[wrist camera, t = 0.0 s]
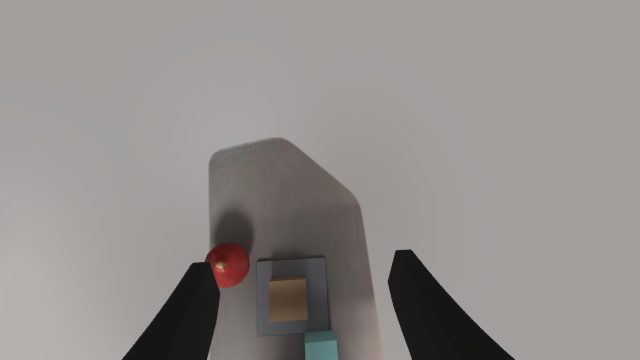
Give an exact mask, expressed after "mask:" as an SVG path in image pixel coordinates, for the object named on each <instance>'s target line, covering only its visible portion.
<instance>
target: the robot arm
mask: <svg viewBox="0 0 640 360" xmlns="http://www.w3.org/2000/svg"><path fill="white" fill-rule="evenodd" d="M388 285H389V289H390V294H391V298H392V302H393V306H394V309H395V312H396V315H397V318H398V321H399V324H400V327H401V330H402V332H403V335H404V338H405V341H406V344H407V346H408V349H409V352H410V355H411V357H412V360H515V359H514V358H513V357H511V356H510V355H509V354H508V353H507V352H506V351H505V350H504V349H502V348H501V347H500V346H499V345H498V344H497V343H496V342H495V341H494V340H493V339H492V338H491V337H490V336H488V335H487V334H486V333H485V332H484V331H483V330H482V329H481V328H480V327H479V326H478V325H477V324H476V323H475V322H474V321H473V320H472V319H471V318H470V317H469V316H468V315H467V314H466V313H465V311H463V309H462V308H461V307H460V306H459V305H458V304H457V303H456V302H455V301H454V300H453V298H452V297H451V296H450V295H449V294H448V293H447V292H446V291H445V290H444V288H443V287H442V286H441V285H440V284H439V283H438V282H437V280H436V279H435V278H434V277H433V276H432V274H431V273H430V272H429V271H428V270H427V268H426V267H425V266H424V265H423V264H422V262H421V261H420V260H419V259H418V258H417V256H416V255H415V254H414V252H413V251H412V250H396V251H395V255H394V259H393V263H392V267H391V271H390V275H389V279H388ZM219 299H220V291H219V288H218V285H217V282H216V279H215V276H214V273H213V270H212V267H211V264H210V262H198V263H192V264H191V266H190V267H189V269H188V270H187V272H186V273H185V275H184V276H183V278H182V279H181V281H180V282H179V284H178V285H177V287H176V288H175V290H174V291H173V293H172V294H171V296H170V297H169V299H168V300H167V301H166V303H165V304H164V305H163V307H162V308H161V310H160V311H159V313H158V314H157V315H156V317H155V318H154V319H153V321H152V322H151V323H150V325H149V326H148V327H147V329H146V330H145V331H144V332H143V334H142V335H141V336H140V337H139V339H138V340H137V341H136V343H135V344H134V345H133V346H132V348H131V349H130V350H129V352H128V353H127V354H126V355H125V356H124V357H123V359H122V360H207V357H208V353H209V349H210V345H211V341H212V337H213V333H214V329H215V325H216V321H217V314H218V307H219Z"/></svg>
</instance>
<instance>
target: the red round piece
mask: <svg viewBox="0 0 640 360" xmlns="http://www.w3.org/2000/svg"><path fill="white" fill-rule="evenodd" d="M205 262H210V264H211V267H212V270H213V273H214V276H215V279H216V282H217V285H218V287H222V288H227V287H231V286H235V285H237V284H238V283H240V282H242V280H243V279H244V278H245V276H246V275H247V274H248V270H249V267H250V262H249V257H248V255H247V253H246V251H245V249H244V248H242V247H241V246H240V245H239V244H235V243H231V242H230V243H222V244H220V245H218V246H216V247H214V248H213V249H212V250H211V251H210V252H209V253H208V254H207V257H206V259H205Z"/></svg>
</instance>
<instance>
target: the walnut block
mask: <svg viewBox="0 0 640 360" xmlns="http://www.w3.org/2000/svg"><path fill="white" fill-rule="evenodd" d="M305 319H308V313H307V290H306V277H291V278H276V279H271V280H270V281H269V322H280V321H292V320H305Z"/></svg>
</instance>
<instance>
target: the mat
mask: <svg viewBox="0 0 640 360" xmlns="http://www.w3.org/2000/svg"><path fill="white" fill-rule="evenodd" d="M291 277H306V290H307V313H308V319H305V320H292V321H280V322H269V281H270V280H271V279H276V278H291ZM257 329H258V337H259V336H271V335H283V334H295V333H307V332H319V331H329V321H328V304H327V287H326V270H325V258H309V259H293V260H277V261H261V262H257Z"/></svg>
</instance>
